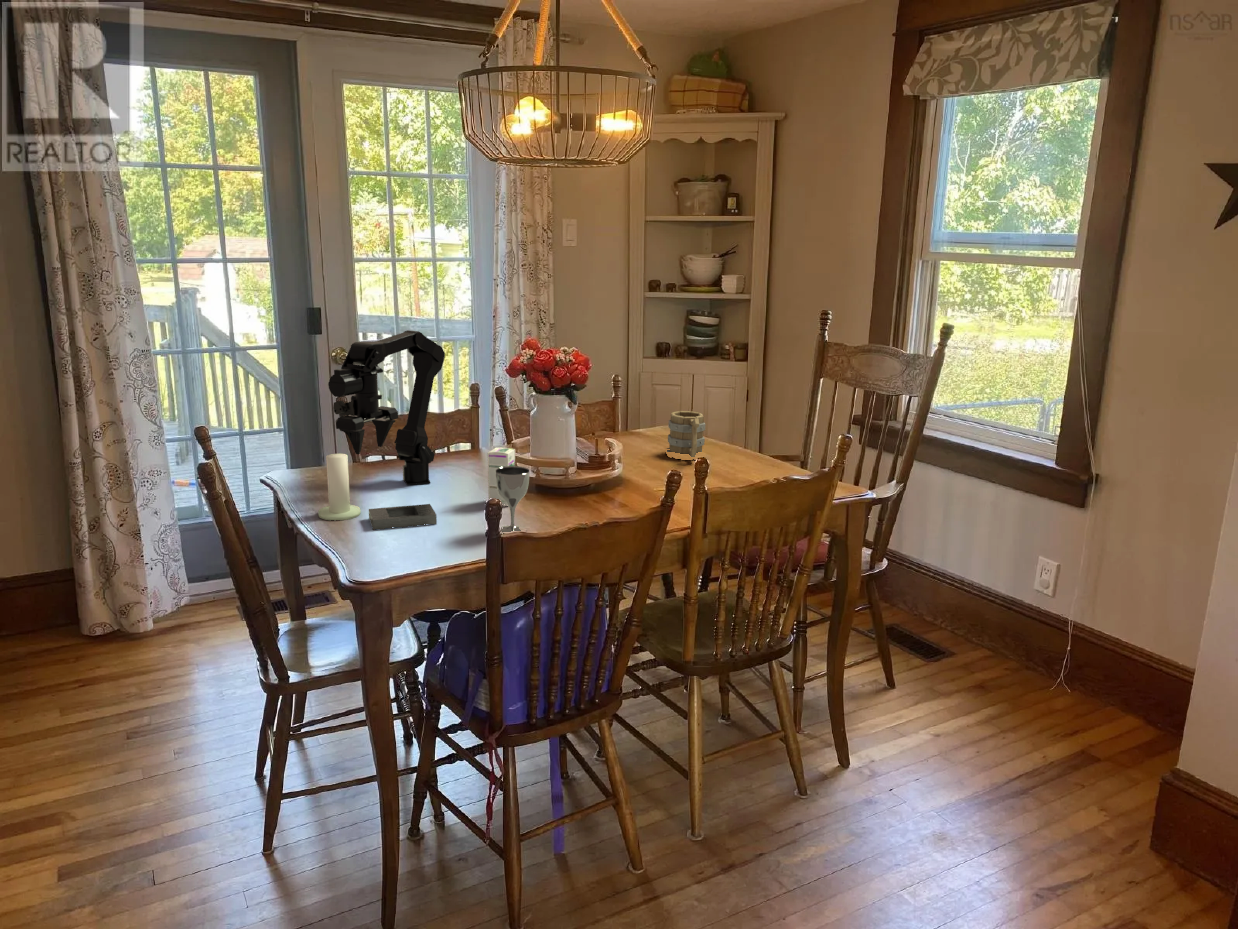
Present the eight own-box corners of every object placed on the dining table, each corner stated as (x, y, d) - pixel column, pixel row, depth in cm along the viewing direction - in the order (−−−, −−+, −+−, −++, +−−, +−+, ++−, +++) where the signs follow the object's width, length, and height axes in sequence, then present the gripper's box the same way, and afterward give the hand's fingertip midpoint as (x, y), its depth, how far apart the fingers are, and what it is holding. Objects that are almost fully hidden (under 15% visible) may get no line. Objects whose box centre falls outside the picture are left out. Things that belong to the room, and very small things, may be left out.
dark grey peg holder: (430, 513, 224) (429, 503, 224) (436, 524, 216) (436, 514, 216) (369, 518, 219) (368, 508, 218) (373, 530, 211) (372, 520, 210)
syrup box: (509, 507, 231) (509, 453, 227) (487, 505, 232) (487, 451, 229) (516, 500, 237) (515, 448, 233) (494, 499, 238) (494, 446, 234)
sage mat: (358, 506, 228) (358, 503, 227) (362, 518, 219) (362, 514, 218) (317, 510, 224) (317, 506, 224) (319, 522, 215) (319, 518, 215)
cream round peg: (353, 508, 223) (350, 454, 220) (345, 514, 218) (342, 459, 215) (334, 506, 224) (331, 453, 220) (325, 512, 219) (322, 457, 215)
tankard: (663, 451, 295) (665, 406, 291) (700, 451, 297) (702, 407, 293) (673, 466, 276) (675, 419, 272) (712, 466, 277) (715, 419, 274)
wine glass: (496, 524, 217) (496, 465, 213) (529, 525, 218) (529, 466, 214) (495, 535, 209) (494, 474, 206) (528, 535, 210) (529, 474, 206)
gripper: (364, 383, 239) (366, 439, 243) (316, 394, 223) (320, 454, 227) (398, 387, 235) (400, 444, 239) (352, 398, 219) (355, 459, 223)
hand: (369, 450), depth 232 cm, fingers open, 9 cm apart
